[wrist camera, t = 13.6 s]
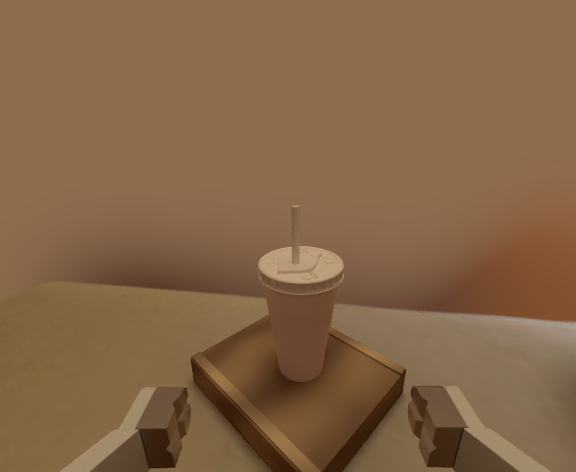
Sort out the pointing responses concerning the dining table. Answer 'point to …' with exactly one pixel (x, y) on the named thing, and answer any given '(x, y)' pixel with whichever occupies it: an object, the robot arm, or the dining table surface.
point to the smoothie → (300, 302)
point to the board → (299, 398)
